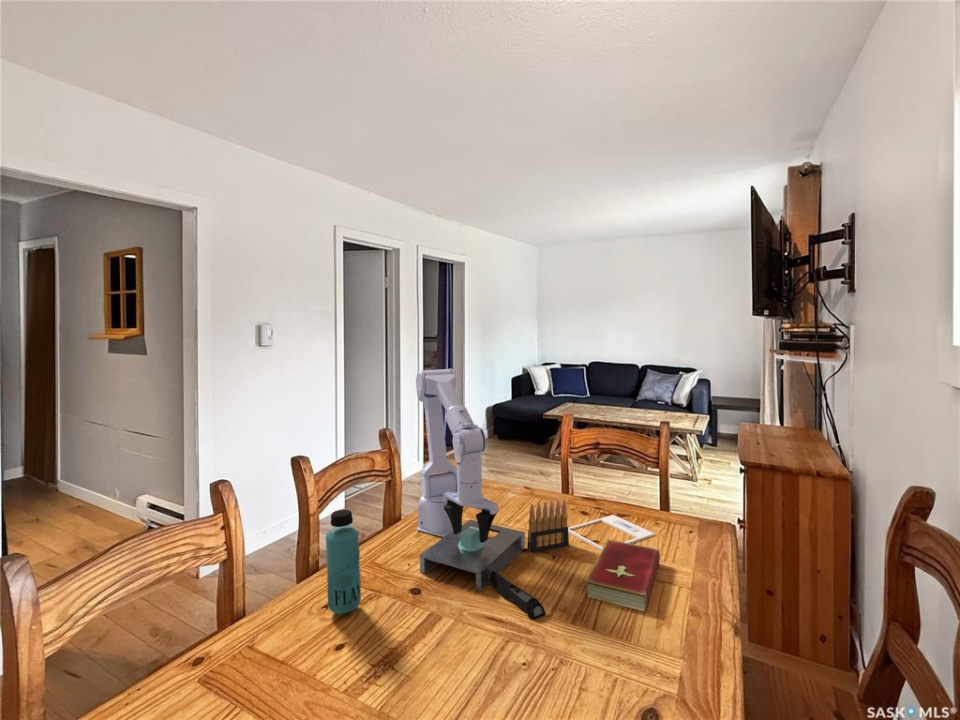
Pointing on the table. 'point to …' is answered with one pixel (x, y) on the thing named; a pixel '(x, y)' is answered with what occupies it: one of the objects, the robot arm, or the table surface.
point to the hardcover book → (624, 574)
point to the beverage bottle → (343, 564)
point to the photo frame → (618, 524)
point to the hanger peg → (470, 540)
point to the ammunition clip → (548, 528)
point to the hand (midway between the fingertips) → (470, 536)
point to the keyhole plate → (476, 553)
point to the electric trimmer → (517, 596)
